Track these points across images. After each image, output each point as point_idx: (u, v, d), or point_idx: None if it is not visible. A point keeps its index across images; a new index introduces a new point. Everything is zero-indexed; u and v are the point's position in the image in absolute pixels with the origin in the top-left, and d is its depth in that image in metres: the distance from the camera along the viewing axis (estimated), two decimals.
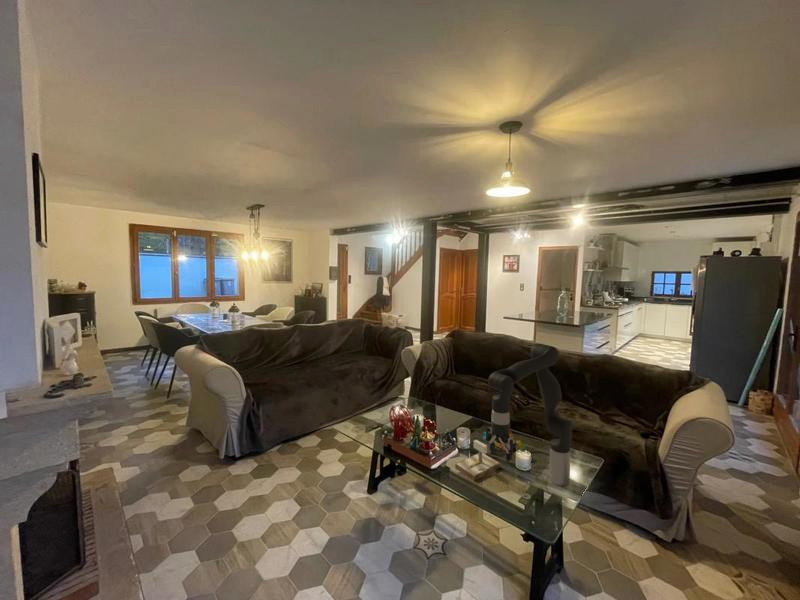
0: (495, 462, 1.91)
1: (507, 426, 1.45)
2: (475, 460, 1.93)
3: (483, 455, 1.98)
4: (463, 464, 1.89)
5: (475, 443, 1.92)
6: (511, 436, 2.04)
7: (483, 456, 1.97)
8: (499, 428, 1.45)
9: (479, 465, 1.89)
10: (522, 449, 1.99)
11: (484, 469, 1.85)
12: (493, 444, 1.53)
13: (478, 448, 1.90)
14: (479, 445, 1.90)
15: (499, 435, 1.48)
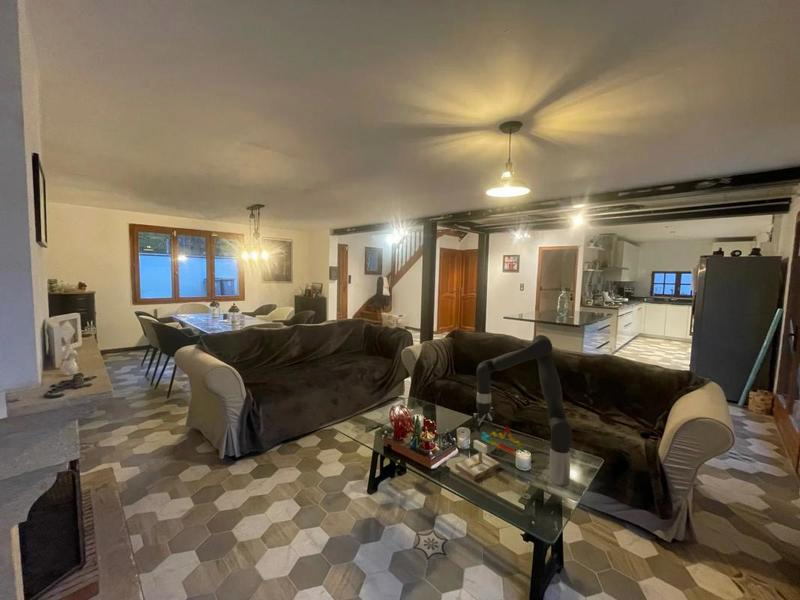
0: (495, 462, 1.91)
1: None
2: (475, 460, 1.93)
3: (483, 455, 1.98)
4: (463, 464, 1.89)
5: (475, 443, 1.92)
6: (510, 436, 2.04)
7: (483, 456, 1.97)
8: None
9: (479, 465, 1.89)
10: (521, 449, 1.99)
11: (484, 469, 1.85)
12: None
13: (478, 448, 1.90)
14: (479, 445, 1.90)
15: (485, 412, 1.85)
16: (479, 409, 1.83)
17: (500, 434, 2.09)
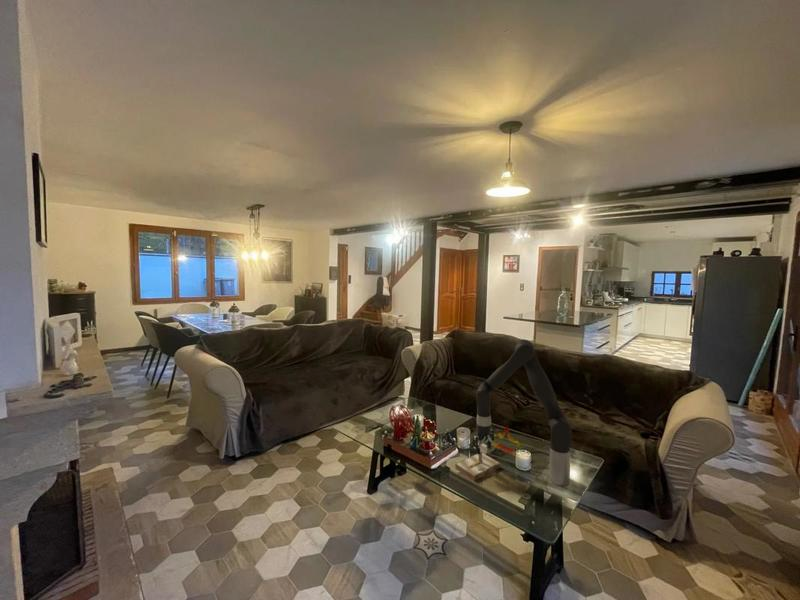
0: (495, 462, 1.91)
1: None
2: (475, 460, 1.93)
3: (483, 455, 1.98)
4: (463, 464, 1.89)
5: None
6: (509, 436, 2.04)
7: (483, 456, 1.97)
8: (490, 427, 1.86)
9: (479, 465, 1.89)
10: (520, 449, 1.99)
11: (484, 469, 1.85)
12: None
13: None
14: None
15: (485, 434, 1.87)
16: (479, 432, 1.85)
17: (499, 434, 2.09)
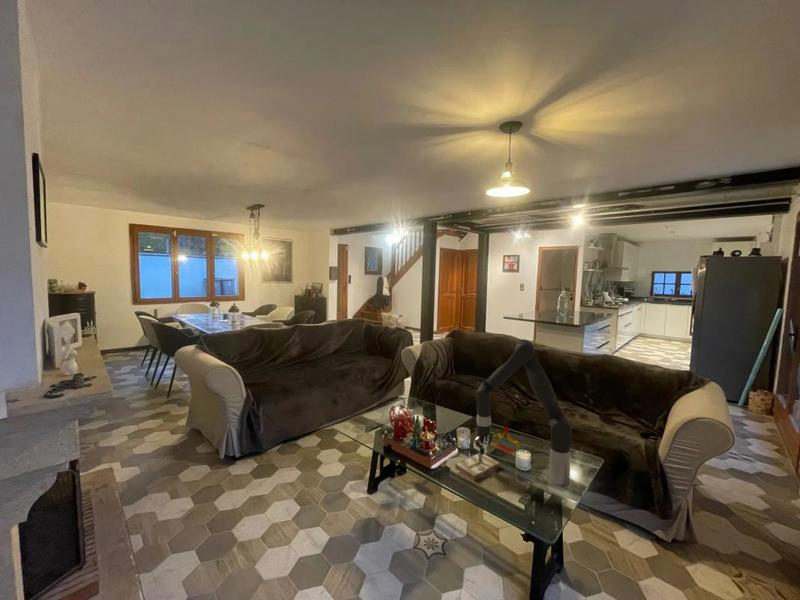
0: (495, 462, 1.91)
1: None
2: (475, 460, 1.93)
3: (483, 455, 1.98)
4: (463, 464, 1.89)
5: None
6: (508, 436, 2.04)
7: (483, 456, 1.97)
8: (490, 427, 1.86)
9: (479, 465, 1.89)
10: (520, 449, 1.99)
11: (484, 469, 1.85)
12: None
13: (478, 448, 1.90)
14: None
15: (485, 434, 1.87)
16: (479, 432, 1.85)
17: (498, 434, 2.09)
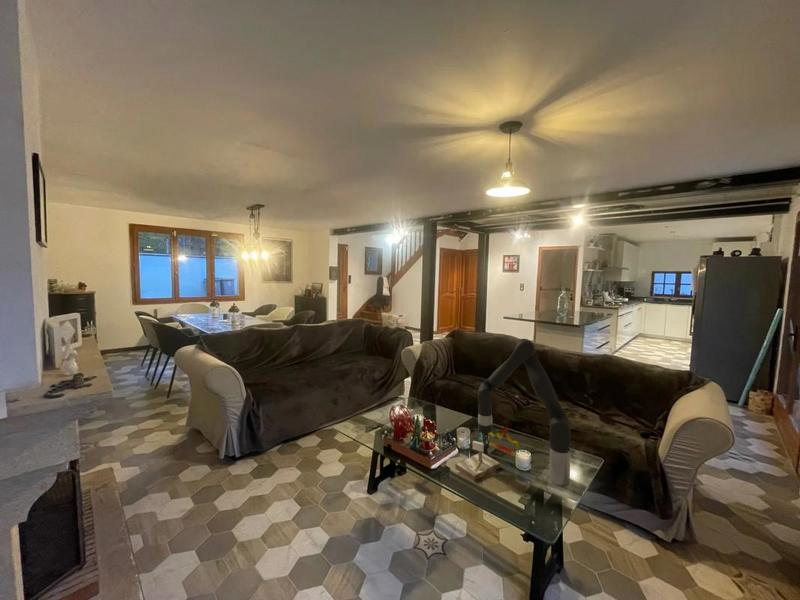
0: (495, 462, 1.91)
1: None
2: (475, 460, 1.93)
3: (483, 455, 1.98)
4: (463, 464, 1.89)
5: (475, 444, 1.91)
6: (508, 436, 2.04)
7: (483, 456, 1.97)
8: None
9: (479, 465, 1.89)
10: (519, 449, 1.99)
11: (484, 469, 1.85)
12: None
13: (479, 448, 1.90)
14: (480, 445, 1.89)
15: None
16: (486, 432, 1.84)
17: (498, 434, 2.09)
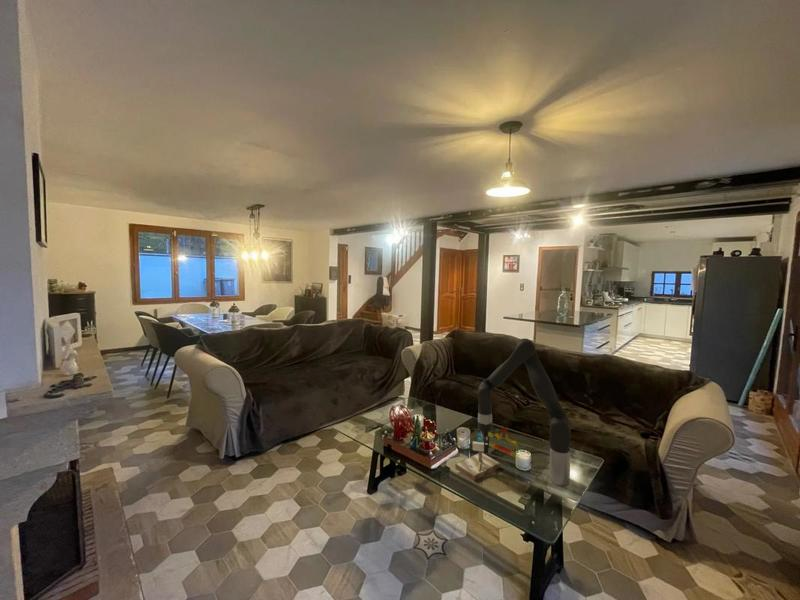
0: (495, 462, 1.91)
1: None
2: (475, 460, 1.93)
3: (483, 455, 1.98)
4: (463, 464, 1.89)
5: (475, 445, 1.90)
6: (506, 437, 2.04)
7: (483, 456, 1.97)
8: None
9: None
10: (518, 449, 1.99)
11: (484, 469, 1.85)
12: None
13: (479, 449, 1.90)
14: (480, 445, 1.89)
15: None
16: (486, 431, 1.85)
17: (496, 435, 2.09)
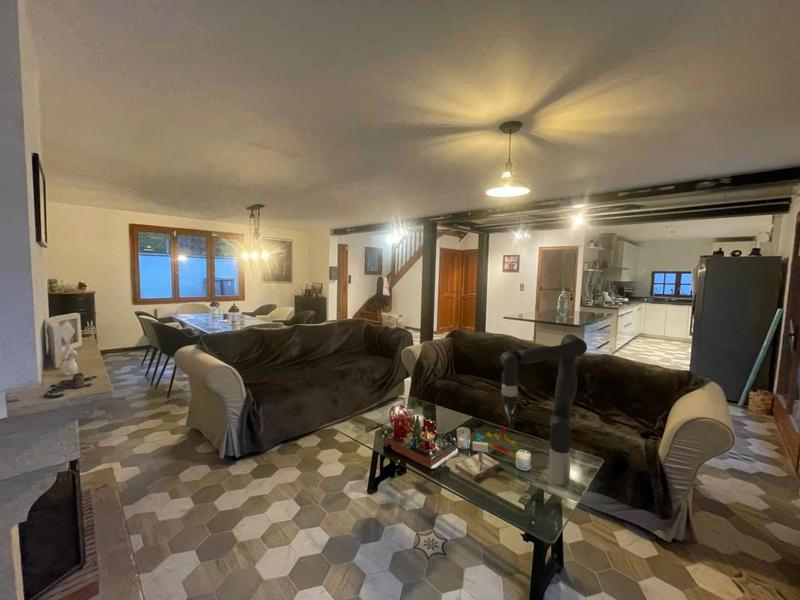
0: (495, 462, 1.91)
1: None
2: (475, 460, 1.93)
3: (483, 455, 1.98)
4: (463, 464, 1.89)
5: (475, 445, 1.90)
6: (505, 437, 2.04)
7: (483, 456, 1.97)
8: None
9: None
10: (517, 449, 1.99)
11: (484, 469, 1.85)
12: None
13: (479, 449, 1.90)
14: (480, 445, 1.89)
15: None
16: (512, 403, 1.68)
17: (495, 435, 2.09)
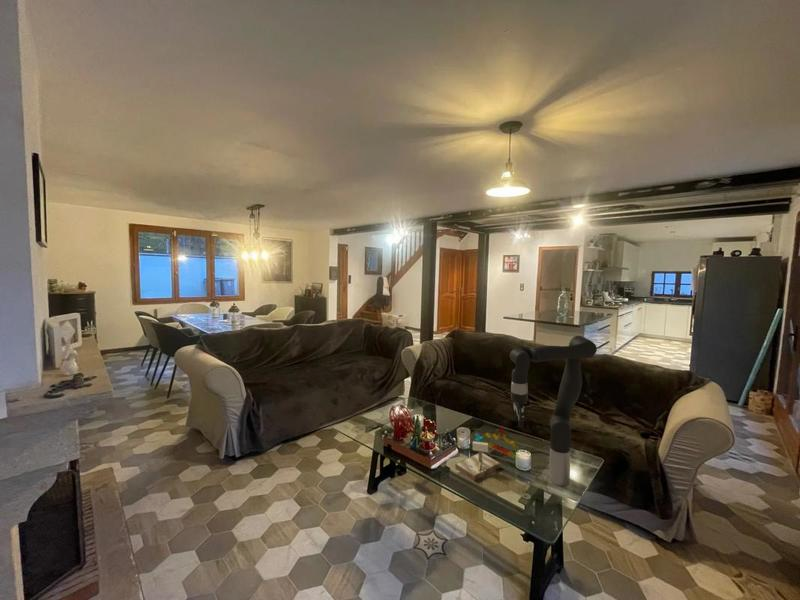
0: (495, 462, 1.91)
1: None
2: (475, 460, 1.93)
3: (483, 455, 1.98)
4: (463, 464, 1.89)
5: (475, 445, 1.90)
6: (504, 437, 2.03)
7: (483, 456, 1.97)
8: None
9: None
10: (516, 449, 1.99)
11: (484, 469, 1.85)
12: None
13: (479, 449, 1.90)
14: (480, 445, 1.89)
15: None
16: (521, 402, 1.64)
17: (494, 435, 2.08)
